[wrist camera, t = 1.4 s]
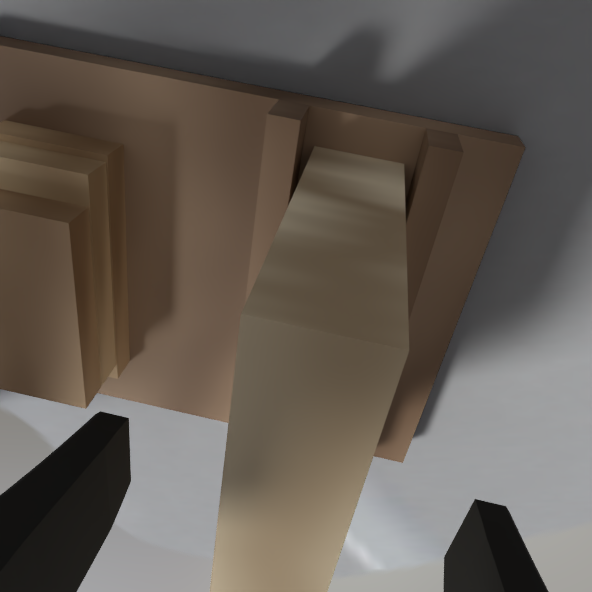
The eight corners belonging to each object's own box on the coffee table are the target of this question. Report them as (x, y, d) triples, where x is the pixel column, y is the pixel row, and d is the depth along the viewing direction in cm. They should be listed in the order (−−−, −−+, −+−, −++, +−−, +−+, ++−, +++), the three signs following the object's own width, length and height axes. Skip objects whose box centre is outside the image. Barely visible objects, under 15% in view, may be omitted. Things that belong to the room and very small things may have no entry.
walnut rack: (33, 358, 22) (-6, 401, 20) (-18, 32, 15) (-85, 45, 13) (402, 442, 21) (403, 496, 19) (518, 136, 14) (538, 167, 12)
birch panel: (269, 412, 20) (203, 646, 13) (314, 146, 14) (240, 313, 8) (333, 427, 20) (300, 670, 13) (404, 163, 14) (409, 350, 7)
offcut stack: (37, 340, 20) (-16, 396, 17) (4, 120, 15) (-73, 152, 13) (129, 360, 19) (90, 420, 17) (123, 144, 15) (69, 181, 13)
